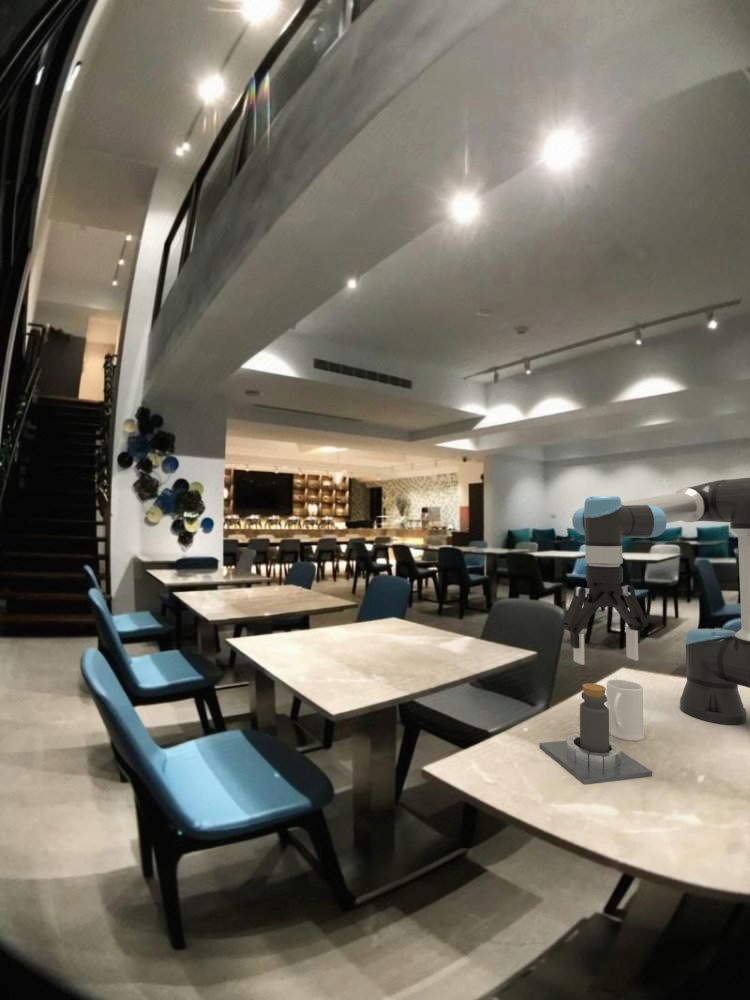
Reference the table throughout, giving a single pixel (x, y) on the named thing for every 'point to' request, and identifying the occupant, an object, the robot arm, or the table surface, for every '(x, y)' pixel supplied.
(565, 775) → the table surface
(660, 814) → the table surface
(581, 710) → the bottle
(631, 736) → the mug
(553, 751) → the collar plate
